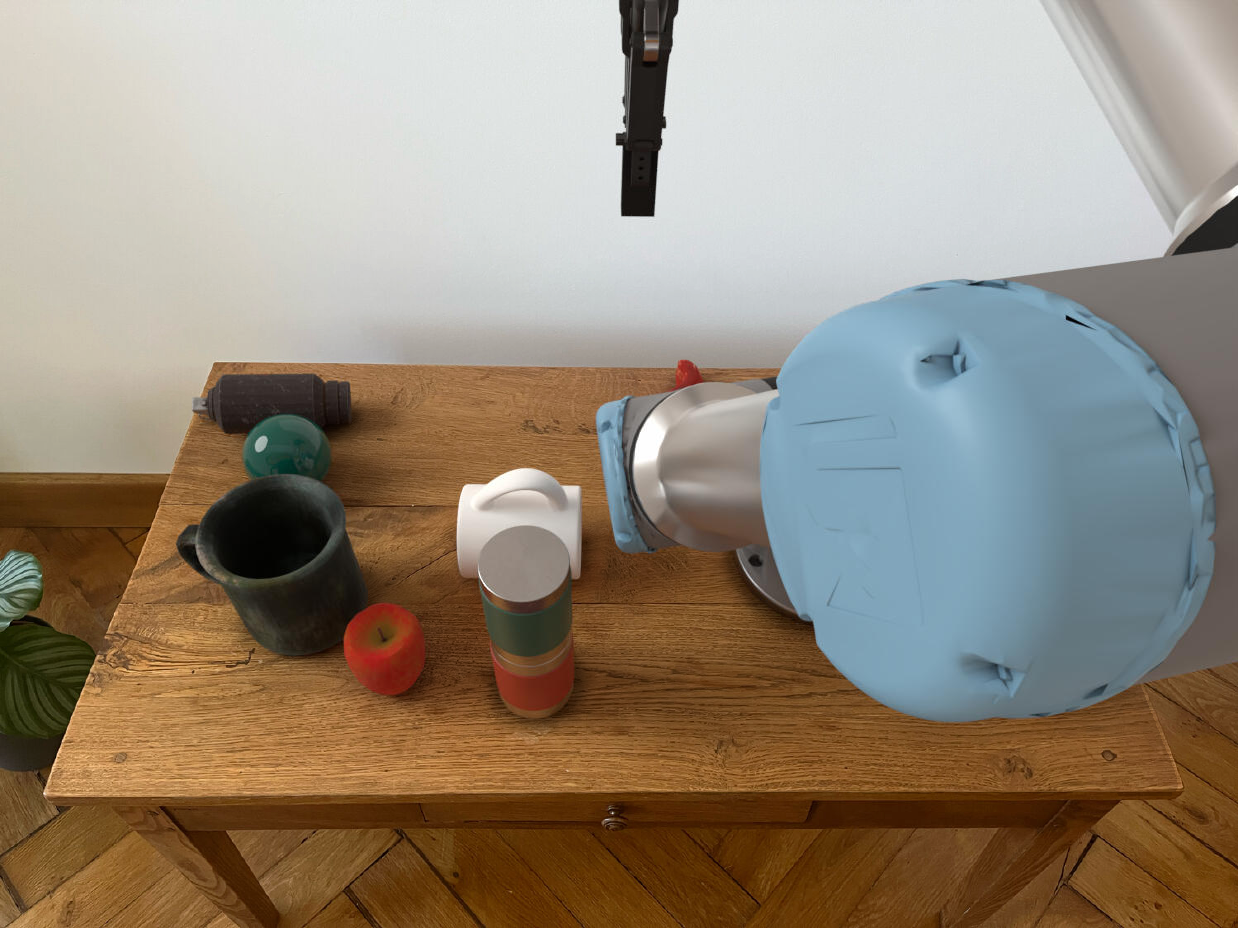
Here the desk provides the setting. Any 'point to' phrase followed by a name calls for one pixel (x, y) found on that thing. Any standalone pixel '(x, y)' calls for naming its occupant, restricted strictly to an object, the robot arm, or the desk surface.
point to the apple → (385, 648)
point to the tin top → (526, 594)
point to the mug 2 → (517, 514)
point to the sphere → (287, 448)
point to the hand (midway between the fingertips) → (637, 211)
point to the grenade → (273, 400)
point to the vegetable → (686, 375)
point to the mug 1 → (281, 561)
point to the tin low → (535, 684)
